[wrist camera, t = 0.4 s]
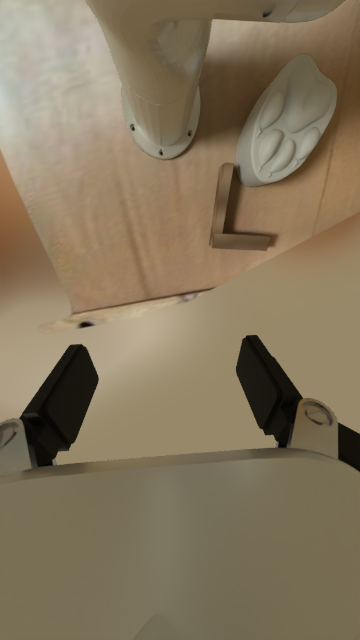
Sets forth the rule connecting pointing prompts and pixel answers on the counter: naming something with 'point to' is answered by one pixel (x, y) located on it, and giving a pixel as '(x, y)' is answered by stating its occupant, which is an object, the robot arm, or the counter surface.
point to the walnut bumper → (217, 235)
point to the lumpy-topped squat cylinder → (285, 123)
